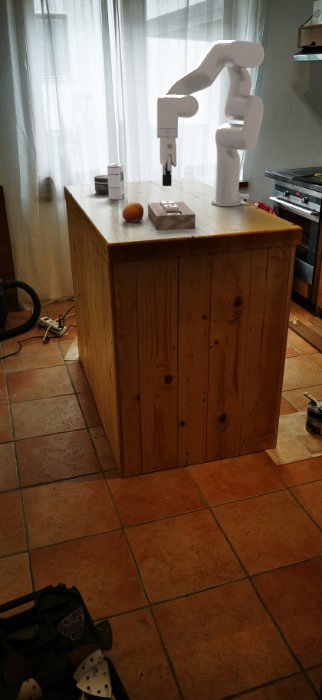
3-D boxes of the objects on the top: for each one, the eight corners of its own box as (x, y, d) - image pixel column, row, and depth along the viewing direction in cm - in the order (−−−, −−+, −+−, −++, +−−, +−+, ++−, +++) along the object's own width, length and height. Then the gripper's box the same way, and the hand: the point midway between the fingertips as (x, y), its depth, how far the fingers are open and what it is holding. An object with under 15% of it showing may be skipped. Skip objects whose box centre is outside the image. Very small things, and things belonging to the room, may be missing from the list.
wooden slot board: (183, 214, 219) (183, 201, 217) (195, 228, 200) (195, 214, 198) (148, 216, 217) (147, 203, 215) (156, 230, 198) (156, 215, 196)
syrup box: (121, 199, 246) (120, 165, 240) (108, 199, 247) (106, 164, 241) (124, 197, 251) (123, 163, 245) (112, 196, 252) (110, 163, 246)
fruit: (140, 221, 204) (130, 201, 203) (125, 230, 209) (115, 210, 208) (152, 217, 210) (142, 197, 209) (137, 225, 215) (128, 206, 214)
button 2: (175, 209, 209) (175, 203, 208) (177, 212, 205) (177, 206, 204) (163, 210, 209) (163, 204, 208) (165, 212, 205) (165, 206, 204)
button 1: (172, 205, 215) (172, 199, 214) (174, 208, 211) (174, 202, 210) (160, 206, 215) (160, 200, 214) (162, 208, 211) (162, 202, 210)
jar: (101, 190, 265) (101, 174, 262) (120, 192, 261) (119, 175, 258) (90, 194, 257) (89, 177, 254) (109, 196, 253) (109, 178, 250)
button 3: (178, 218, 204) (179, 212, 203) (181, 221, 200) (181, 214, 199) (166, 218, 203) (166, 212, 202) (168, 221, 199) (168, 215, 198)
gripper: (181, 135, 195) (180, 189, 203) (173, 131, 209) (173, 182, 217) (160, 135, 194) (160, 189, 202) (154, 131, 207) (154, 182, 215)
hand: (166, 185), depth 209 cm, fingers closed
